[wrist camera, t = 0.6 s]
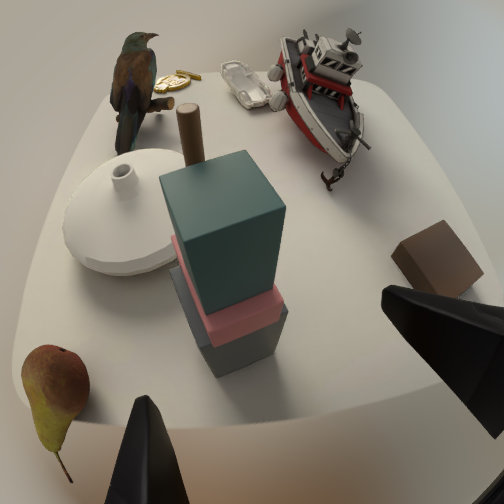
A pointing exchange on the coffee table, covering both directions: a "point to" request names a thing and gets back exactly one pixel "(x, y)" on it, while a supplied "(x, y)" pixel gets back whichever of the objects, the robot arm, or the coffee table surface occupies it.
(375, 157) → the coffee table surface
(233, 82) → the toy car
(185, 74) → the logo
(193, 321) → the grey rectangular block
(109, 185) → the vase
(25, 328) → the coffee table surface
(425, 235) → the walnut block
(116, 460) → the robot arm
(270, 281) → the peg stacking toy
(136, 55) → the bird figurine
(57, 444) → the fruit
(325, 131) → the toy boat
